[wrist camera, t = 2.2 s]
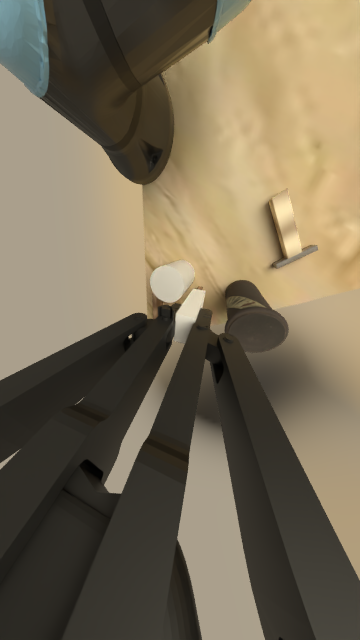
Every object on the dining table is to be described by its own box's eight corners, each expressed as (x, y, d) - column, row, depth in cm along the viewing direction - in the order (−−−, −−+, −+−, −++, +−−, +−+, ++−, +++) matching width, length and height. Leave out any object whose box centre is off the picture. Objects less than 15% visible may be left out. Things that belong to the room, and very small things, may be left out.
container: (234, 273, 34) (244, 300, 17) (266, 286, 33) (308, 328, 17) (219, 300, 39) (215, 342, 22) (246, 313, 38) (264, 365, 22)
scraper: (255, 210, 27) (258, 207, 25) (296, 182, 24) (303, 176, 22) (273, 267, 31) (277, 268, 29) (311, 249, 27) (318, 250, 26)
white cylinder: (166, 283, 41) (148, 296, 31) (171, 256, 36) (151, 260, 26) (190, 291, 40) (179, 307, 30) (198, 264, 35) (188, 272, 25)
